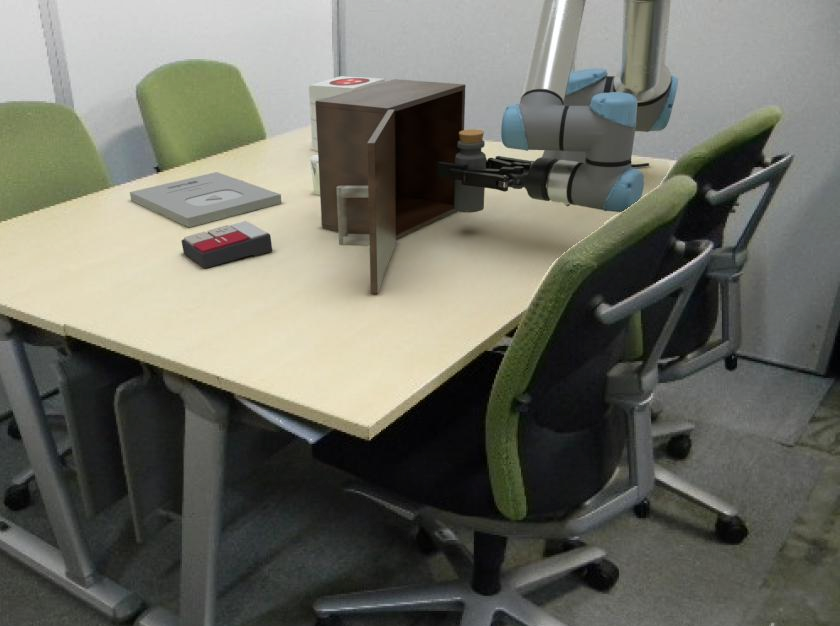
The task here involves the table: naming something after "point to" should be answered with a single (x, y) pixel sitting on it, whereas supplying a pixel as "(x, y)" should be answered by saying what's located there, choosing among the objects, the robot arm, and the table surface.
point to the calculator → (226, 244)
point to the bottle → (472, 155)
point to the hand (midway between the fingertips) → (448, 165)
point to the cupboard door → (375, 201)
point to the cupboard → (414, 150)
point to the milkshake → (315, 173)
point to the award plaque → (204, 198)
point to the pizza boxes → (332, 89)
